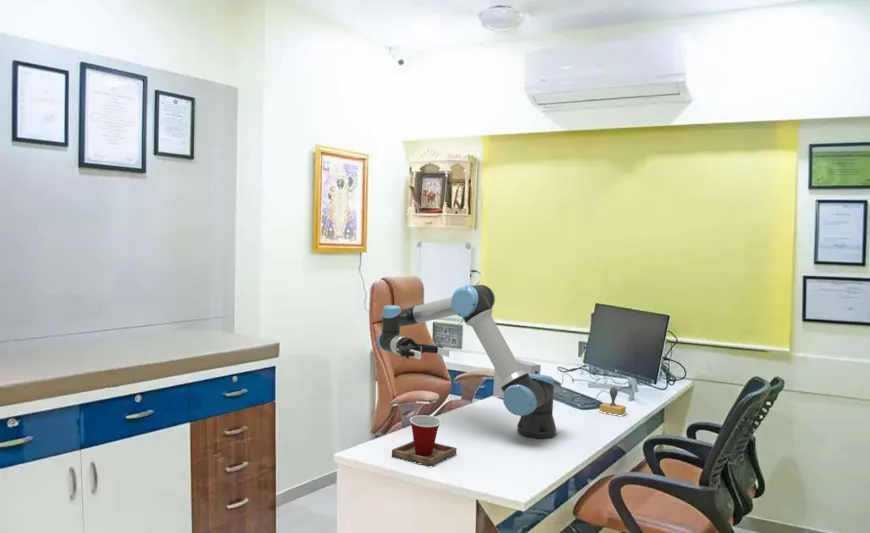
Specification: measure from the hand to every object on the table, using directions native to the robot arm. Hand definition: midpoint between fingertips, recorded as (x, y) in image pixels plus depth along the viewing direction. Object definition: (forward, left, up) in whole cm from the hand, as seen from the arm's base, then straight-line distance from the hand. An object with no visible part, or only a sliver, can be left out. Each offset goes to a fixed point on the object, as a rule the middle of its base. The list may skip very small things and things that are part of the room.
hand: (434, 354), depth 255 cm
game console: (-4, -65, -30) cm, 72 cm away
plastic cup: (-14, +26, -30) cm, 42 cm away
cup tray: (-14, +26, -30) cm, 42 cm away
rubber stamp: (-47, -76, -30) cm, 94 cm away
